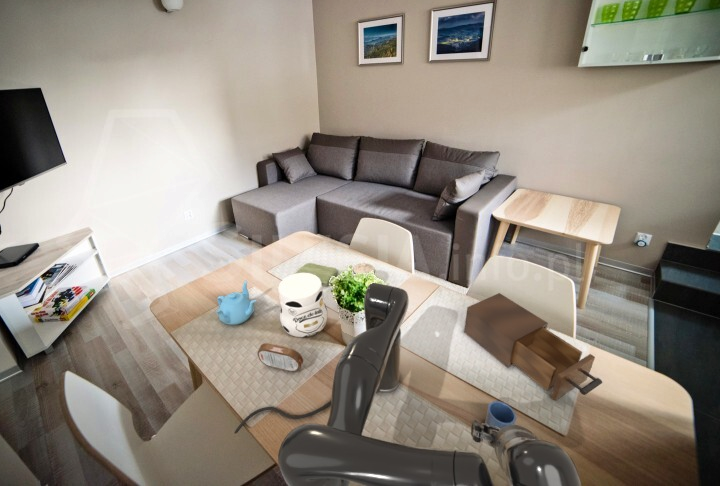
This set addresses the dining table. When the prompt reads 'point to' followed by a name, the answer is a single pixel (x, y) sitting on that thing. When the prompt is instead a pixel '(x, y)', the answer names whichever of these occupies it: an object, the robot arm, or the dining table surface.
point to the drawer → (553, 363)
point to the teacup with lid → (363, 268)
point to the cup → (500, 414)
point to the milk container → (302, 305)
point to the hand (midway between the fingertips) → (509, 436)
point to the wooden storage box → (500, 326)
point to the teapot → (235, 307)
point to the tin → (280, 357)
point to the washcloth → (319, 272)
